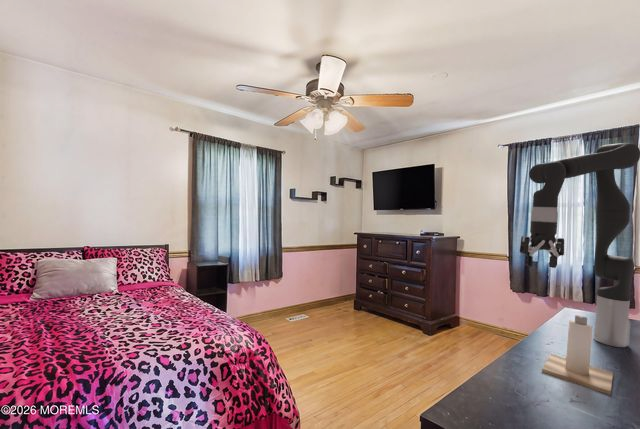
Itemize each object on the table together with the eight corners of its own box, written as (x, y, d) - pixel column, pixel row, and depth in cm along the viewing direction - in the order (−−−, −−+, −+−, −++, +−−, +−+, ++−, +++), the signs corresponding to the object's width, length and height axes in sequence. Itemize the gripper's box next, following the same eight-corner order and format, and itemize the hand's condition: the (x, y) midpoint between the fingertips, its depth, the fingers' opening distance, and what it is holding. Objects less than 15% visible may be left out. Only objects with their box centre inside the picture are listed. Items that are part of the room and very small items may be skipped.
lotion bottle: (577, 365, 96) (581, 314, 96) (594, 375, 91) (598, 320, 91) (560, 365, 96) (564, 313, 96) (576, 374, 91) (580, 319, 90)
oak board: (550, 356, 104) (551, 353, 104) (612, 375, 93) (613, 372, 93) (541, 371, 93) (542, 368, 93) (610, 395, 83) (610, 391, 83)
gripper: (532, 220, 105) (528, 268, 105) (572, 222, 106) (569, 270, 106) (516, 219, 112) (513, 264, 113) (554, 220, 113) (551, 265, 114)
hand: (540, 267), depth 109 cm, fingers open, 8 cm apart
